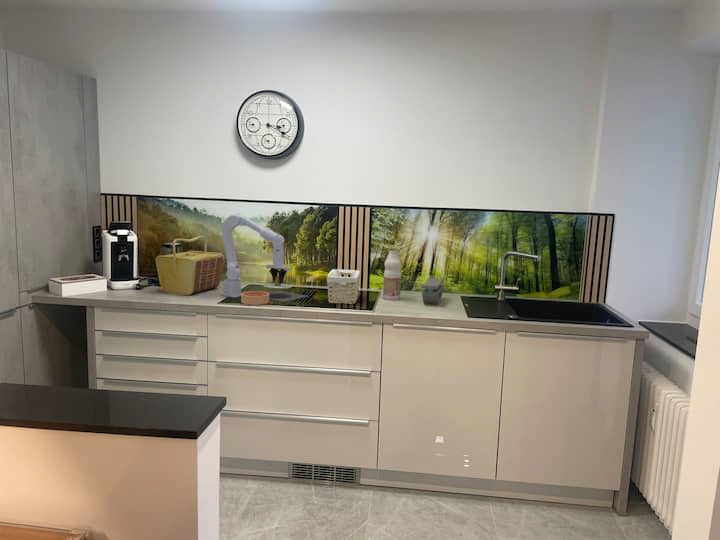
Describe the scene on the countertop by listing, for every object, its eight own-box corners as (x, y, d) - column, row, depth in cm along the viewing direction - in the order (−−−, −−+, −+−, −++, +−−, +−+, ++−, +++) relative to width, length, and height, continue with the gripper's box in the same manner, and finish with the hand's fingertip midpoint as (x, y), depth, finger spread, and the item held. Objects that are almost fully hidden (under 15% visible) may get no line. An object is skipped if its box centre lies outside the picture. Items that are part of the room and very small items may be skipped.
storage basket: (356, 305, 297) (357, 276, 295) (325, 303, 298) (325, 275, 296) (359, 296, 321) (360, 270, 319) (331, 294, 322) (331, 268, 320)
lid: (257, 286, 307) (258, 276, 306) (274, 284, 320) (274, 274, 319) (280, 289, 300) (281, 278, 299) (297, 286, 313) (297, 276, 313)
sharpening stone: (436, 307, 298) (437, 286, 296) (421, 305, 300) (422, 285, 298) (442, 298, 321) (443, 279, 320) (428, 297, 324) (429, 278, 322)
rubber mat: (252, 296, 310) (252, 295, 310) (278, 291, 326) (278, 290, 326) (283, 302, 297) (283, 301, 297) (308, 297, 313) (308, 295, 313)
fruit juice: (383, 300, 311) (385, 248, 307) (382, 296, 320) (384, 246, 316) (400, 300, 311) (403, 249, 307) (399, 297, 321) (401, 247, 316)
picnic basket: (194, 297, 304) (193, 240, 300) (154, 292, 313) (153, 237, 309) (225, 288, 331) (225, 236, 327) (188, 284, 340) (187, 233, 336)
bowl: (235, 302, 294) (235, 293, 294) (255, 298, 306) (255, 290, 305) (255, 306, 286) (255, 297, 286) (274, 302, 298) (274, 293, 297)
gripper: (262, 257, 308) (262, 282, 310) (284, 259, 301) (284, 285, 303) (270, 256, 314) (270, 280, 316) (292, 258, 307) (292, 283, 309)
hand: (278, 282), depth 310 cm, fingers closed on lid, 3 cm apart
